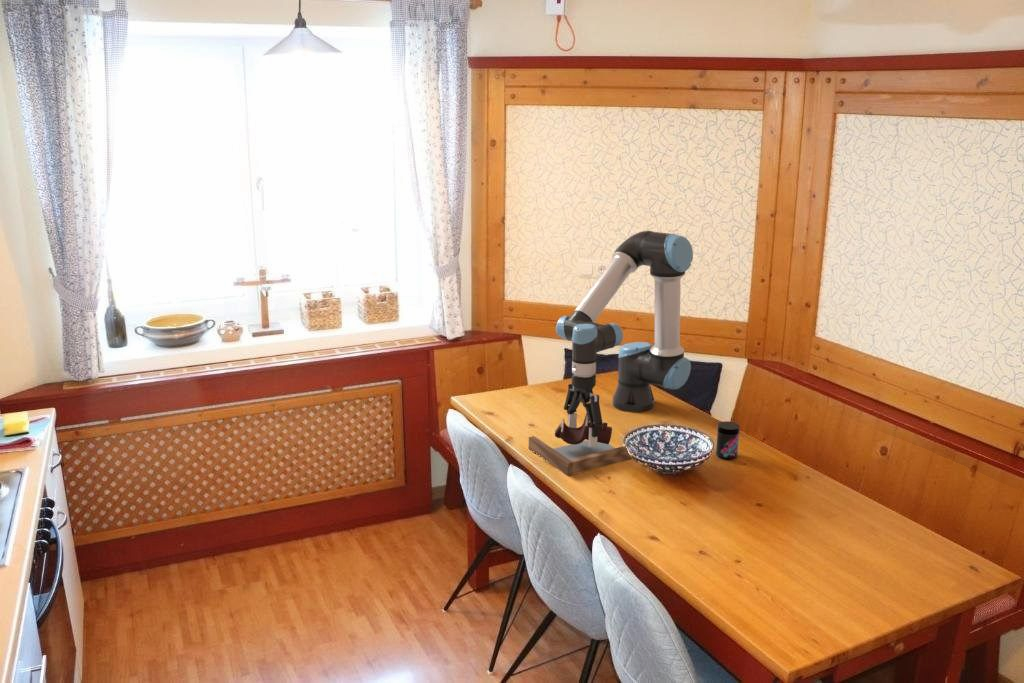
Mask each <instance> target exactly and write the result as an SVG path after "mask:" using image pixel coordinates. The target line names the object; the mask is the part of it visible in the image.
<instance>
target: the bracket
mask: <svg viewBox="0 0 1024 683" xmlns="http://www.w3.org/2000/svg"><path fill="white" fill-rule="evenodd" d="M584 416H585V417H584V420H583V424H582V425H581V426H578V427H577V428H571V427H568V424H566V422H565V418H562V420H561V423H559V425H558V426H557V428H556V429H555V431H554V436H555V437H556V438H557V439H560V440H562V441H563V442H565V443H566V444H568V445H571V444H573V445H575V444H580V443H582V442H583V441H588V440H589V426H591V425H590V422H589V418H588V415H587V412H586V414H585V415H584ZM602 422H603V426H601V427H598V436H597V442H600V443H604V444H609V445H610V443H611V438H612V432H613V427H612V426H608V422H604V421H602Z"/></svg>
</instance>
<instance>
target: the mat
mask: <svg viewBox="0 0 1024 683" xmlns="http://www.w3.org/2000/svg"><path fill="white" fill-rule="evenodd" d="M615 448H616V447H614V446H612V445H611V444H610V443H609V444H604V443H600V442H597V445H595V446H591V447H590V446H589V440H584V441H583V442H582V443H580V444H575V445H573V444H568V445H567V444H566V445H563V446H559V447H555V448H553V449H554V450H556V451H557V452H559V453H560V454H562V455H563V456H565V457H566V458H568V459H569V460H570V459H574V458H578V457H582V456H586V455H590V454H594V453H599V452H603V451H607V450H611V449H615Z"/></svg>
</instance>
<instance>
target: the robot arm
mask: <svg viewBox="0 0 1024 683" xmlns="http://www.w3.org/2000/svg"><path fill="white" fill-rule="evenodd" d="M611 259H612V260H611V261H610V262H609V264H608V265H607V266H606V268H605V269H604V270H603V272H602V273H601V274H600V276H599V277H598V279H597V280H596V281H595V282H594V284H593V285H592V287H590V289H589V291H587V293H586V294H585V295H584V297H583V299H582V300H581V301H580V302H579V304H578V305H577V307H576V308H575V309H574V311H573V312H572V313H571V315H562V316H561V317H559V319H558V320H557V322H556V325H555V331H556V334H557V336H558V337H559V338H561V339H564V340H566V341H569V342H572V345H571V349H572V353H571V355H572V357H571V360H572V361H571V373H572V374H571V383H568V386H567V388H568V389H567V395H566V398H565V402H564V406H563V409H564V411H566V413H567V418H568V419H567V422H568V423H567V426H568V427H571V428H578V427H577V426H578V424H577V421H578V419H577V418H578V417H577V416H578V414H577V412H578V411H577V410H578V407H579V405H580V404H582V405H583V408H585V412H586V413H587V415H588V419H589V422H590V425H591V426H589V446H590V447H591V446H595V445H597V436H598V427H601V426H603V422H604V421H603V418H602V412H601V406H600V395H599V394H594V392H593V389H594V388H595V387H596V383H597V379H596V378H597V375H596V373H597V353H600V352H602V351H606V350H608V349H609V350H610V349H614V347H616V346H619V345H620V344H621V343H622V342H623V340H624V333H623V329H622V328H621V326H620V325H619V324H617V323H614V322H610V323H606V324H601V323H597V322H596V320H597V319H598V318H599V316H600V315H601V314H602V312H603V311H604V309H605V308H606V307H607V305H608V304H609V303H610V302H611V301H612V299H613V297H614V296H615V294H616V293H617V292H618V290H619V289H620V288H621V286H622V285H623V283H624V282H625V281H626V280H627V278H628V277H629V276H630V274H632V273H635V272H637V270H638V268H640V267H642V266H645V267H646V266H647V267H649V272H650V273H649V275H650V276H651V277H653V280H654V333H653V334H654V342H653V344H654V345H653V344H652V343H650V342H646V341H635V342H628V343H625V344H622V345H621V346H620V347H619V350H618V351H619V353H618V362H617V363H618V367H617V368H618V371H617V385H616V388H615V392H614V394H613V396H612V406H613V407H614V408H615V409H617V410H620V411H623V412H630V413H631V412H632V413H640V412H646V411H650V410H652V409H654V408H655V397H654V394H653V391H652V386H651V384H652V385H656V386H659V387H662V388H665V389H670V390H679V389H680V388H681V387H683V386H684V385H685V383H686V382H687V381H688V379H689V376H690V373H691V369H692V364H691V360H689V358H687V357H685V349H684V347H683V346H681V345H680V343H681V340H680V339H681V338H680V336H681V334H680V333H681V331H680V330H681V282H682V281H681V280H682V278H683V277H684V276H685V275H686V272H687V271H688V270H689V269H690V268H691V265H692V263H693V260H694V251H693V245H692V243H691V241H690V240H688V238H687V237H685V236H683V235H678V234H675V233H668V232H667V233H666V232H658V231H652V230H643V231H640V232H637V233H635V234H633V235H631V236H630V237H628V238H627V239H625V240H624V241H623V242H622V243H621V244H620V245H619V246H618V247H617V248H616V249H615V251H614V252H613V253H612V255H611Z"/></svg>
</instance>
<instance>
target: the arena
mask: <svg viewBox="0 0 1024 683" xmlns="http://www.w3.org/2000/svg"><path fill="white" fill-rule="evenodd" d="M626 446H627V445H624V446H620V447H614V448H615V449H611V450H607V451H603V452H599V453H594V454H590V455H586V456H582V457H578V458H574V459H570V460H569V459H568V458H566V457H565V456H563V455H562V454H560V453H559V452H557V451H556V450H554V448H553V447H551V446H550V445H548V444H546V443H545V442H544V441H542V440H541V439H539V437H536V436H535V435H532V436H528V449H529V450H530V449H531V450H532V452H533V451H534V452H535V453H537V454H538V455H540V456H541V457H543V458H544V459H545V460H544V459H543V458H542V459H543V460H544V461H546V460H547V461H548V462H549V464H550V463H551V464H552V466H553V467H554V466H555V467H554V468H555V469H557V470H558V469H559V470H558V471H559V472H561V471H562V472H561V473H562V474H564V475H566V476H567V477H568V476H572V475H575V474H580V473H584V472H587V471H591V470H595V469H598V468H603V467H606V466H610V465H615V464H618V463H622V462H626V461H630V460H633V456H632V457H631V456H630V455H629V453H628V451H627V448H626ZM531 450H530V451H531ZM534 452H533V453H534ZM535 453H534V454H535ZM537 454H536V455H537ZM538 455H537V456H538ZM540 456H539V457H540ZM541 457H540V458H541ZM547 461H546V462H547ZM548 462H547V463H548ZM551 464H550V465H551Z"/></svg>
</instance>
